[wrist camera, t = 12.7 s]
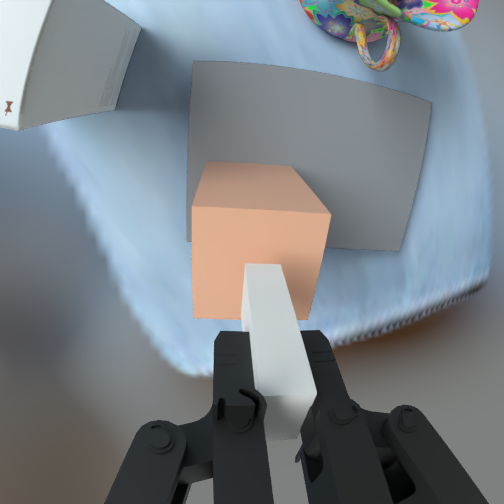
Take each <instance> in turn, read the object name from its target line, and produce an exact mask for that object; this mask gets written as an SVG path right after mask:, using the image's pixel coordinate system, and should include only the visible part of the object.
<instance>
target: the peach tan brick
mask: <svg viewBox="0 0 504 504" xmlns="http://www.w3.org/2000/svg"><path fill="white" fill-rule="evenodd" d="M330 219H331V213H330V212H329V211H328V210H327V208H326V207H325V206H324V205H323V203H322V202H321V201H320V200H319V199H318V197H317V196H316V195H315V194H314V192H313V191H312V190H311V189H310V188H309V187H308V185H307V184H306V183H305V182H304V181H303V179H302V178H301V177H300V176H299V175H298V174H297V172H296V171H295V170H294V169H293V168H292V167H291V166H280V165H268V164H254V163H238V162H218V161H206V164H205V167H204V170H203V173H202V176H201V179H200V182H199V185H198V188H197V192H196V195H195V198H194V201H193V204H192V291H193V318H204V319H233V320H241V307H242V295H243V284H244V272H245V263H254V264H281V267H282V271H283V274H284V277H285V281H286V284H287V288H288V291H289V294H290V298H291V301H292V305H293V308H294V312H295V315H296V319H297V320H308V317H309V313H310V309H311V305H312V301H313V297H314V293H315V288H316V284H317V280H318V276H319V271H320V267H321V262H322V258H323V253H324V248H325V244H326V239H327V234H328V229H329V224H330Z"/></svg>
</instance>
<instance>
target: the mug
mask: <svg viewBox="0 0 504 504" xmlns="http://www.w3.org/2000/svg"><path fill="white" fill-rule="evenodd" d="M478 1H479V0H300V3H301V5H302V7H303V9H304V10H305V12H306V13H307V15H308V16H309V17H310V18H311V19H312V20H313V21H314V22H315V23H316V24H317V25H318V26H319V27H320V28H322V29H323V30H325V31H326V32H328V33H329V34H331V35H333V36H335V37H338V38H340V39H343V40H347V41H351V42H357V46H358V50H359V53H360V56H361V58H362V60H363V61H364V63H365V64H366V65H367V66H368V67H370V68H371V69H373V70H376V71H385V70H387V69H389V68H390V67H391V66H392V64H393V63H394V61H395V59H396V57H397V55H398V52H399V48H400V42H401V34H400V29H399V26H398V24H397V22H399V21H406V22H409V23H411V24H413V25H416V26H419V27H422V28H425V29H429V30H434V31H453V30H457V29H460V28H462V27H464V26H465V25H467V24H468V23H469V22H470V21H471V19H472V18H473V17H474V15H475V13H476V11H477V8H478ZM386 35H388V40H387V45H386V48H385V51H384V53H383V55H382V57H381V58H380V60H379V61H378V62H377V63H375V62H374V60H373V59H372V57H371V55H370V52H369V49H368V45H367V42H373V41H376V40H379V39H381V38H383V37H385V36H386Z"/></svg>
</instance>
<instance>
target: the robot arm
mask: <svg viewBox="0 0 504 504" xmlns="http://www.w3.org/2000/svg"><path fill="white" fill-rule="evenodd" d="M241 321H242V331H220V333H219V334H218V336H217V338H216V339H215V341H214V374H213V404H212V407H211V410H210V412H209V413H208V414H207V415H206V416H205V417H203V418H202V419H200V420H198V421H195V422H192V423H188V424H184V425H179V426H177V425H175V424H173V423H171V422H169V421H162V420H157V421H151V422H148V423H147V424H145V425H143V426H142V427H141V428H140V429H139V430H138V432H137V433H136V435H135V437H134V439H133V442H132V444H131V446H130V448H129V450H128V452H127V454H126V457H125V459H124V461H123V463H122V465H121V468H120V470H119V472H118V474H117V476H116V478H115V481H114V483H113V485H112V487H111V490H110V492H109V494H108V496H107V499H106V501H105V503H104V504H185V503H186V500H187V497H188V493H189V490H190V487H191V484H192V483H194V482H198V481H202V480H206V479H209V478H213V485H214V486H213V487H214V488H213V489H214V504H274V501H273V493H272V485H271V477H270V469H269V462H268V454H267V445H266V441H272V440H287V439H297V438H298V435H299V433H301V437H302V443H303V444H302V446H301V448H300V450H299V451H298V453H297V455H296V458H295V463H297V462H299V460H300V459H301V463H302V468H303V474H304V479H305V485H306V490H307V496H308V502H309V504H489V503H488V502H487V500H486V499H485V498H484V496H483V495H482V493H481V492H480V490H479V489H478V488H477V486H476V485H475V483H474V482H473V481H472V479H471V478H470V476H469V475H468V474H467V472H466V471H465V469H464V468H463V467H462V465H461V464H460V463H459V461H458V460H457V458H456V457H455V456H454V454H453V453H452V452H451V450H450V449H449V448H448V446H447V445H446V444H445V442H444V441H443V440H442V438H441V437H440V436H439V434H438V433H437V432H436V430H435V429H434V428H433V426H432V425H431V424H430V422H429V421H428V420H427V418H426V417H425V416H424V414H422V412H421V411H420V410H418V409H417V408H415V407H413V406H409V405H402V406H397V407H396V408H395V409H393V410H392V411H391V413H390V414H389V413H381V412H372V411H368V410H364V409H362V408H360V406H359V404H357V403H356V402H355V401H353V400H352V399H350V398H349V396H348V393H347V391H346V388H345V385H344V382H343V379H342V376H341V374H340V371H339V368H338V365H337V362H336V359H335V357H334V354H333V353H332V348H331V346H330V343H329V340H328V339H327V338H326V337H325V336H324V335H323V334H322V332H321V331H320V330H307V331H300V329H299V326H298V322H297V319H296V315H295V312H294V308H293V305H292V301H291V298H290V294H289V291H288V288H287V284H286V281H285V277H284V274H283V271H282V267H281V264H254V263H245V272H244V284H243V295H242V307H241Z"/></svg>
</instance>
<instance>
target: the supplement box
mask: <svg viewBox="0 0 504 504" xmlns="http://www.w3.org/2000/svg"><path fill="white" fill-rule="evenodd" d="M140 30H141V26H140V25H139V24H138V23H136V22H135V21H134V20H132V19H131V18H129V17H128V16H126V15H125V14H123V13H122V12H121V11H119V10H118V9H116V8H115V7H113V6H112V5H110V4H109V3H107V2H105V1H104V0H0V127H1V128H8V129H13V130H18V131H20V130H23V129H27V128H31V127H35V126H39V125H43V124H47V123H51V122H55V121H60V120H64V119H69V118H74V117H79V116H84V115H89V114H94V113H101V112H107V111H114V110H115V107H116V104H117V100H118V97H119V93H120V90H121V86H122V83H123V80H124V77H125V73H126V70H127V67H128V64H129V61H130V58H131V55H132V52H133V50H134V47H135V44H136V41H137V39H138V36H139V33H140Z"/></svg>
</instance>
